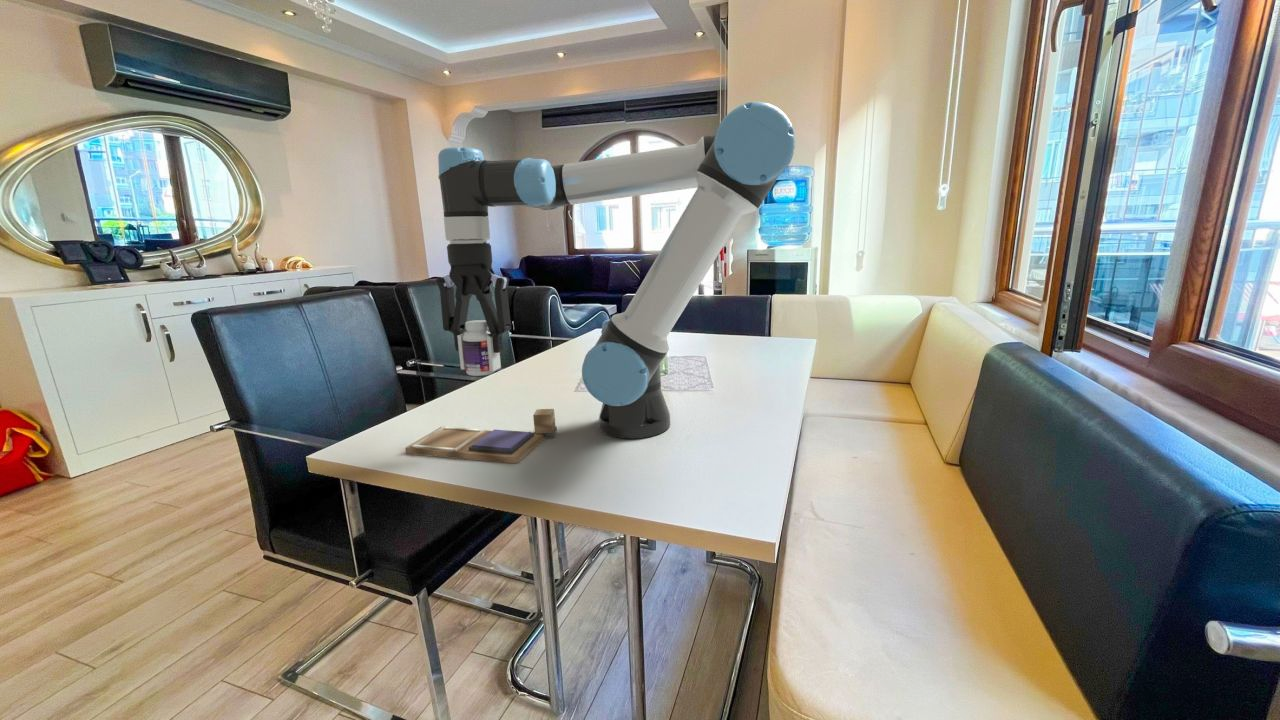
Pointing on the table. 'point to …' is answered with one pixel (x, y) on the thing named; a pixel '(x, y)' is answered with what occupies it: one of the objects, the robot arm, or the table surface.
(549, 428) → the stamp block
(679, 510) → the table surface
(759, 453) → the table surface
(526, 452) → the board
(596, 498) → the table surface
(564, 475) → the table surface
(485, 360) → the pill bottle
